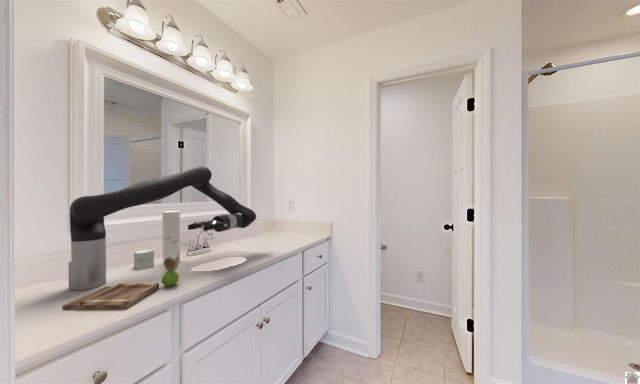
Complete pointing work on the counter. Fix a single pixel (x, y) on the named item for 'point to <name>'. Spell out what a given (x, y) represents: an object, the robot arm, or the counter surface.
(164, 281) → the snail figurine
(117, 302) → the display base
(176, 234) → the cylindrical container
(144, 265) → the skincare box
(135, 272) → the counter surface
